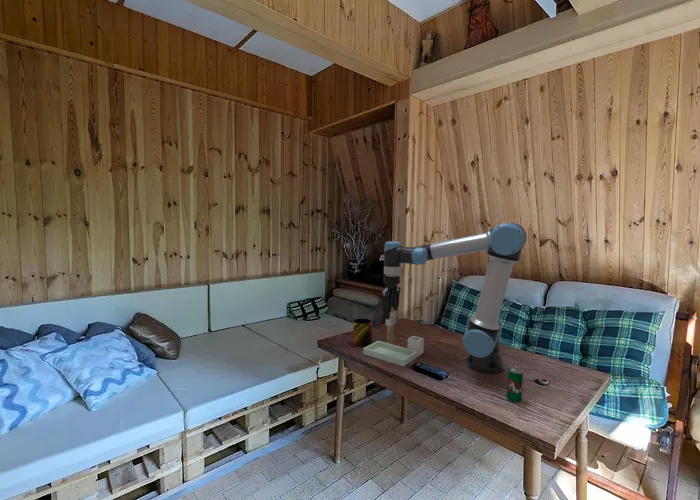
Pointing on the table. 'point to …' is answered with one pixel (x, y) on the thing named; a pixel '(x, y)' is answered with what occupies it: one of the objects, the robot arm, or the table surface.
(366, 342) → the mug
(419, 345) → the cup
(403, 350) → the tray
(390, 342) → the dowel
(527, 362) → the table surface
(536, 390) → the table surface
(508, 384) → the soda can
